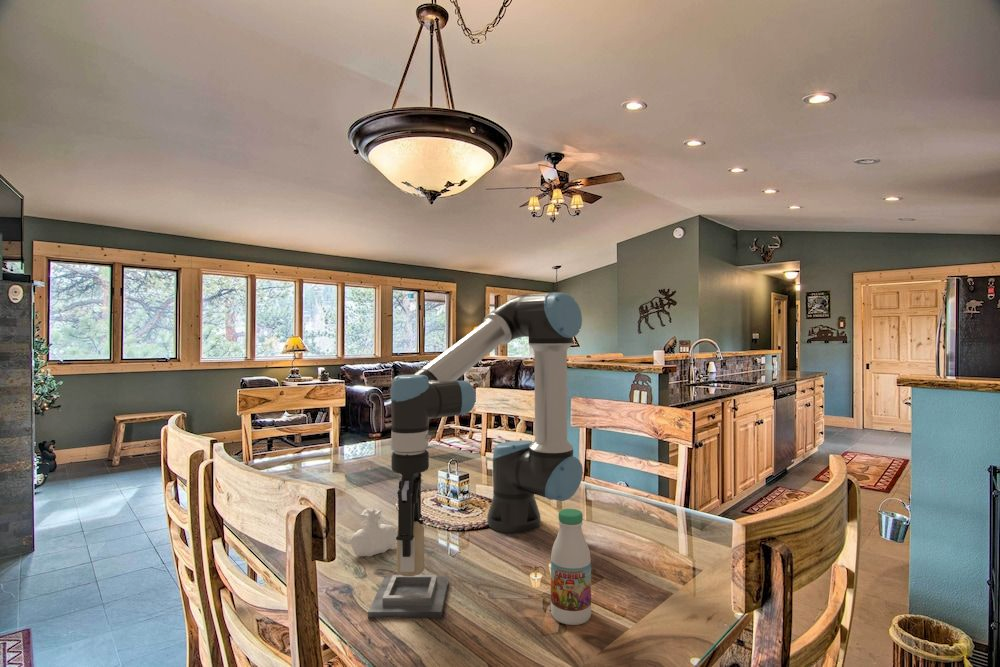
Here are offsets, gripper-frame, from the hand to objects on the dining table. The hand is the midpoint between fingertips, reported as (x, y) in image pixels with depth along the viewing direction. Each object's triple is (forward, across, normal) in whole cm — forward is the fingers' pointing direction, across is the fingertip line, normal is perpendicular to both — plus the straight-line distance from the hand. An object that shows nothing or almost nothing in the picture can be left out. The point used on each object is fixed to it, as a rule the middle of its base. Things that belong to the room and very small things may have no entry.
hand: (410, 563), depth 106 cm
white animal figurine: (+8, +23, +14) cm, 28 cm away
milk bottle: (+7, -6, -32) cm, 33 cm away
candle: (+2, 0, 0) cm, 2 cm away
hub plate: (+7, 0, 0) cm, 7 cm away
